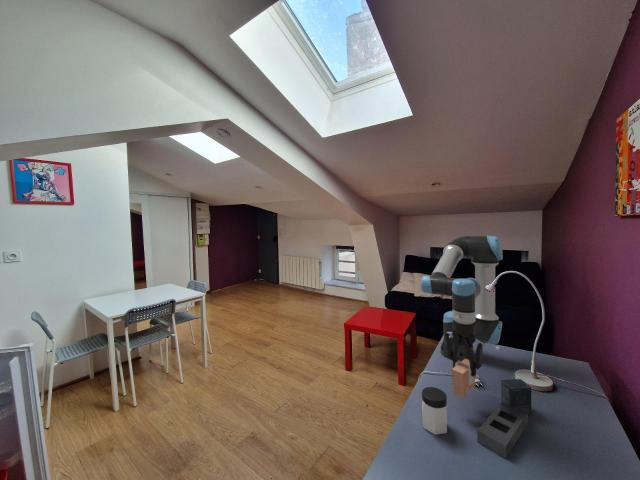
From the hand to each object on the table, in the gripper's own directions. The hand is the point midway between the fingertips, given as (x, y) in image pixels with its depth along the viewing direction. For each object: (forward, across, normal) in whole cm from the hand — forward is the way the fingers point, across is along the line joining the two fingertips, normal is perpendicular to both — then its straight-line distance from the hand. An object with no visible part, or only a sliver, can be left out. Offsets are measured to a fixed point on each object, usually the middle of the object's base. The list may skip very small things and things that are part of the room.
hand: (464, 380), depth 101 cm
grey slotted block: (+12, +13, -1) cm, 18 cm away
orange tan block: (+4, 0, 0) cm, 4 cm away
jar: (+12, -4, -16) cm, 20 cm away
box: (+13, +12, +15) cm, 23 cm away
